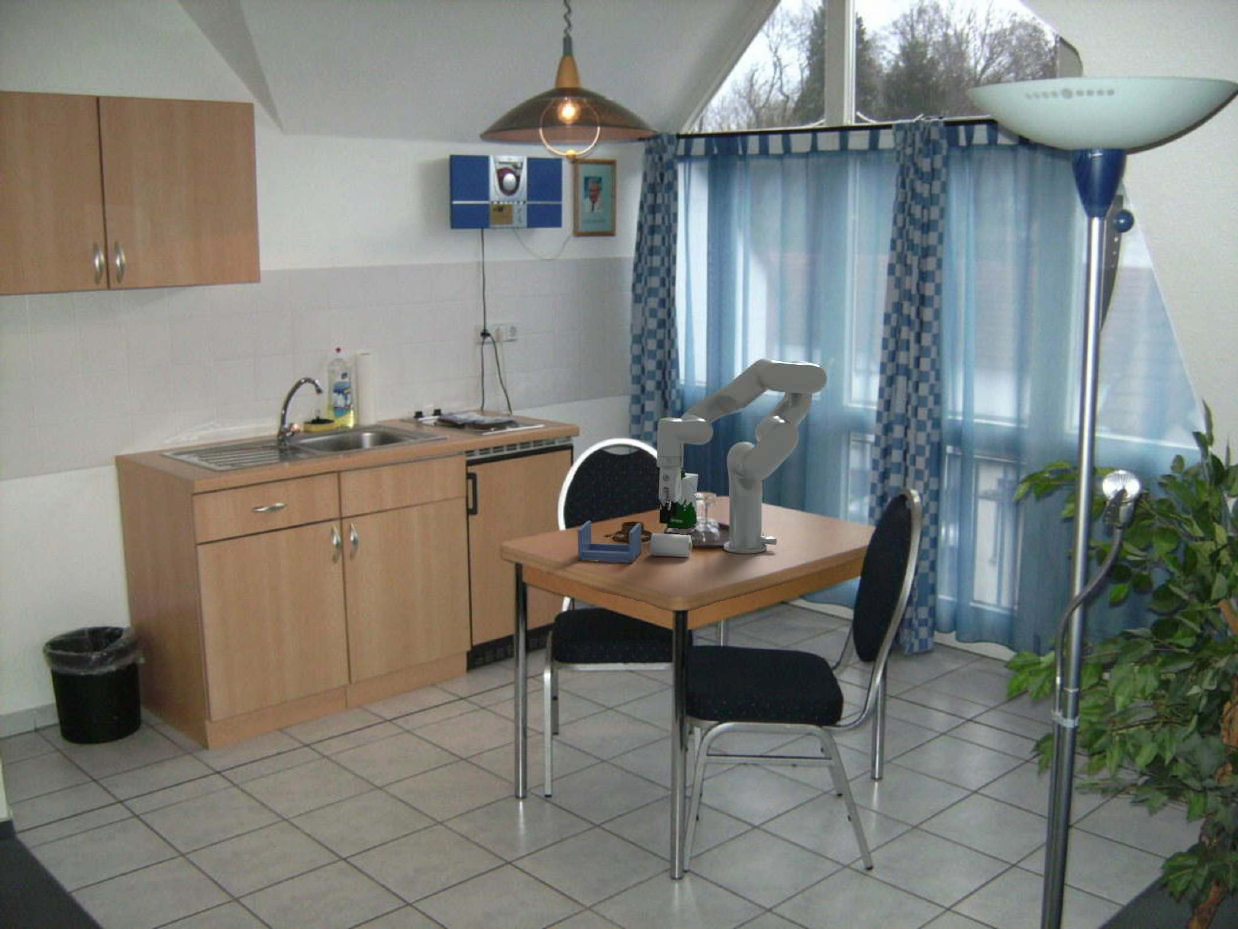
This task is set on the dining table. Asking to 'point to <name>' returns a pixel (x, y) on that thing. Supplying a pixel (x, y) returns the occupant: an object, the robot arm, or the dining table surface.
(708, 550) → the dining table surface
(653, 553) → the roll
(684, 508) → the milk carton
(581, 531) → the holder
